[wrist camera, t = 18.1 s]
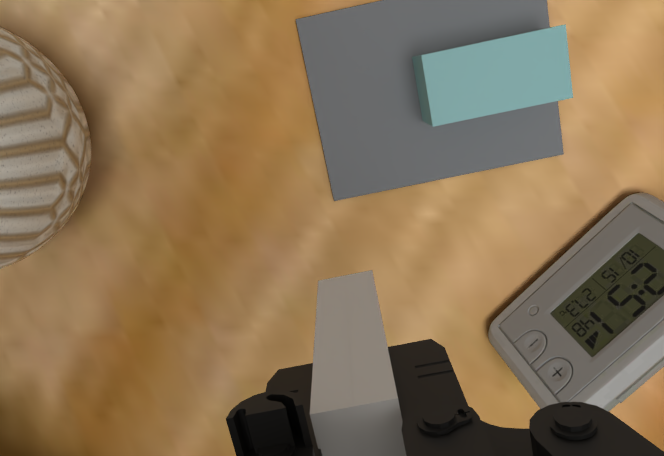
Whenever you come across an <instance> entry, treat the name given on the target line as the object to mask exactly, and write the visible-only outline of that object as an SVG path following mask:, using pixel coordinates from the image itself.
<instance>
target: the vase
mask: <svg viewBox="0 0 664 456" xmlns="http://www.w3.org/2000/svg"><path fill="white" fill-rule="evenodd" d="M90 165H91V140H90V133H89V128H88V124H87V120H86V117H85V114H84V111H83V109H82V106H81V104H80V102H79V100H78V98H77V96H76V94H75V92H74V90H73V89H72V87H71V86H70V84H69V83H68V81H67V80H66V78H65V77H64V76H63V75H62V73H61V72H60V71H59V70H58V69H57V68H56V66H55V65H54V64H53V63H52V62H51V61H50V60H49V59H48V58H47V57H46V56H45V55H43V54H42V53H41V52H40V51H39V50H38V49H36V48H35V47H34V46H32V45H31V44H30V43H28V42H27V41H25V40H24V39H22V38H21V37H19V36H17V35H15V34H13V33H11V32H10V31H8V30H6V29H4V28H2V27H0V269H1V268H4V267H7V266H9V265H12V264H14V263H16V262H19V261H21V260H22V259H24V258H26V257H28V256H29V255H31V254H32V253H34V252H35V251H37V250H38V249H39V248H41V247H42V246H43V245H45V244H46V243H47V242H48V241H49V240H50V239H51V238H52V237H54V236H55V235H56V234H57V233H58V232H59V231H60V230H61V228H62V227H63V226H64V225H65V224H66V222H67V221H68V220H69V218H70V217H71V216H72V214H73V213H74V211H75V210H76V208H77V206H78V204H79V202H80V200H81V198H82V196H83V193H84V191H85V188H86V184H87V180H88V176H89V171H90Z"/></svg>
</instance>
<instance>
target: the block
mask: <svg viewBox="0 0 664 456" xmlns="http://www.w3.org/2000/svg"><path fill="white" fill-rule="evenodd" d="M412 60H413V66H414V72H415V78H416V84H417V90H418V96H419V102H420V108H421V114H422V120H423V122H425V123H427V124H429V125H431V126H433V127H434V126H439V125H444V124H448V123H453V122H458V121H463V120H468V119H473V118H477V117H482V116H487V115H492V114H497V113H502V112H506V111H511V110H516V109H521V108H526V107H531V106H535V105H540V104H545V103H550V102H555V101H559V100H564V99H569V98H573V93H572V83H571V73H570V64H569V54H568V44H567V34H566V25H561V26H556V27H551V28H546V29H540V30H536V31H531V32H526V33H522V34H517V35H512V36H508V37H503V38H498V39H494V40H489V41H484V42H480V43H475V44H470V45H466V46H461V47H456V48H451V49H447V50H442V51H437V52H433V53H428V54H423V55H419V56H414V57H412Z"/></svg>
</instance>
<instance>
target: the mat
mask: <svg viewBox="0 0 664 456" xmlns="http://www.w3.org/2000/svg"><path fill="white" fill-rule="evenodd" d="M296 23H297V28H298V33H299V37H300V42H301V47H302V52H303V56H304V61H305V66H306V70H307V75H308V80H309V85H310V89H311V94H312V99H313V103H314V108H315V113H316V118H317V122H318V127H319V132H320V137H321V141H322V146H323V151H324V155H325V160H326V165H327V170H328V174H329V179H330V184H331V188H332V193H333V198H334V201H337V200H341V199H346V198H351V197H356V196H361V195H366V194H371V193H376V192H381V191H386V190H390V189H395V188H400V187H405V186H410V185H415V184H420V183H425V182H430V181H435V180H440V179H444V178H449V177H454V176H459V175H464V174H469V173H474V172H479V171H484V170H489V169H494V168H498V167H503V166H508V165H513V164H518V163H523V162H528V161H533V160H538V159H543V158H547V157H552V156H557V155H562V154H563V145H562V135H561V126H560V117H559V108H558V101H555V102H550V103H545V104H540V105H535V106H531V107H526V108H521V109H516V110H511V111H506V112H502V113H497V114H492V115H487V116H482V117H477V118H473V119H468V120H463V121H458V122H453V123H448V124H444V125H439V126H434V127H433V126H431V125H429V124H427V123H425V122H423V120H422V114H421V108H420V102H419V96H418V90H417V84H416V78H415V72H414V66H413V60H412V57H414V56H419V55H423V54H428V53H433V52H437V51H442V50H447V49H451V48H456V47H461V46H466V45H470V44H475V43H480V42H484V41H489V40H494V39H498V38H503V37H508V36H512V35H517V34H522V33H526V32H531V31H536V30H540V29H546V28H550V26H549V17H548V8H547V0H382V1H377V2H373V3H368V4H363V5H359V6H354V7H350V8H345V9H341V10H336V11H332V12H327V13H323V14H318V15H314V16H309V17H305V18H300V19H296Z"/></svg>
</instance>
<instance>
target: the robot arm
mask: <svg viewBox="0 0 664 456" xmlns="http://www.w3.org/2000/svg"><path fill="white" fill-rule="evenodd" d="M226 421H227V424H228V428H229V431H230V435H231V438H232V442H233V445H234V449H235V452H236V456H664V452H663V451H662V450H660V449H659V448H658V447H656V446H655V445H654V444H652V443H651V442H650V441H648V440H647V439H645V438H644V437H643V436H641V435H640V434H639V433H637V432H636V431H635V430H633V429H632V428H631V427H629V426H628V425H626V424H625V423H624V422H622V421H621V420H620V419H618V418H617V417H616V416H614V415H613V414H611V413H610V412H608V411H606V410H604V409H602V408H600V407H598V406H596V405H592V404H587V403H583V402H561V403H556V404H551V405H548V406H546V407H544V408H542V409H540V410H538V411H537V412H536V413H535V414H534V415H533V417H532V418H531V419H530V427H529V429H515V428H503V427H498V426H494V425H490V424H488V423H485V422H483V421H481V420H480V418H479V416H478V414H477V413H476V412H475V411H474V410H473V408H471V407H469V406H468V404H467V402H466V399H465V397H464V394H463V392H462V390H461V387H460V385H459V382H458V380H457V377H456V375H455V372H454V370H453V367H452V365H451V362H450V361H449V358H448V355H447V353H446V350H445V348H444V347H443V346H441V345H440V344H438V343H437V342H435V341H433V340H432V339H428V340H423V341H418V342H412V343H407V344H402V345H397V346H391V347H387V342H386V337H385V332H384V327H383V322H382V317H381V312H380V307H379V302H378V297H377V292H376V287H375V282H374V277H373V272H372V270H370V271H365V272H360V273H355V274H350V275H345V276H340V277H335V278H330V279H325V280H320V281H318V293H317V309H316V324H315V340H314V355H313V363H311V364H306V365H300V366H295V367H290V368H285V369H279V370H278V371H277V372H276V373H275V375H274V376H273V377H272V378H271V379H270V380H269V382H268V383H267V388H266V392H264V393H261V394H257V395H254V396H252V397H250V398H248V399H246V400H244V401H242V402H241V403H239V404H238V405H237V406H236V407H234V408H233V409H232V410H231V411H230V413H229V415H228V416H227V418H226Z"/></svg>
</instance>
